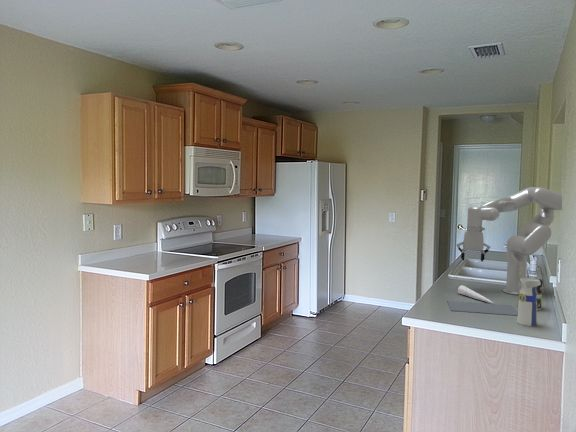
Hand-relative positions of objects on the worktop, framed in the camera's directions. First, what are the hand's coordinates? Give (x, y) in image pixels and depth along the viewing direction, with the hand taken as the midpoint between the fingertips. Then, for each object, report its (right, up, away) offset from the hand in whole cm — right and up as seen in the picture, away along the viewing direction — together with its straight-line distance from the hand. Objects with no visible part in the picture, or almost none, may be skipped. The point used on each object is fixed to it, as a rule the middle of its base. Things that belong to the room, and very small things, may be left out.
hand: (472, 260), depth 252 cm
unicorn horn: (-3, -19, -11) cm, 22 cm away
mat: (-7, -20, -30) cm, 37 cm away
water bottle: (+3, -22, -53) cm, 57 cm away
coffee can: (+17, -21, -27) cm, 38 cm away
